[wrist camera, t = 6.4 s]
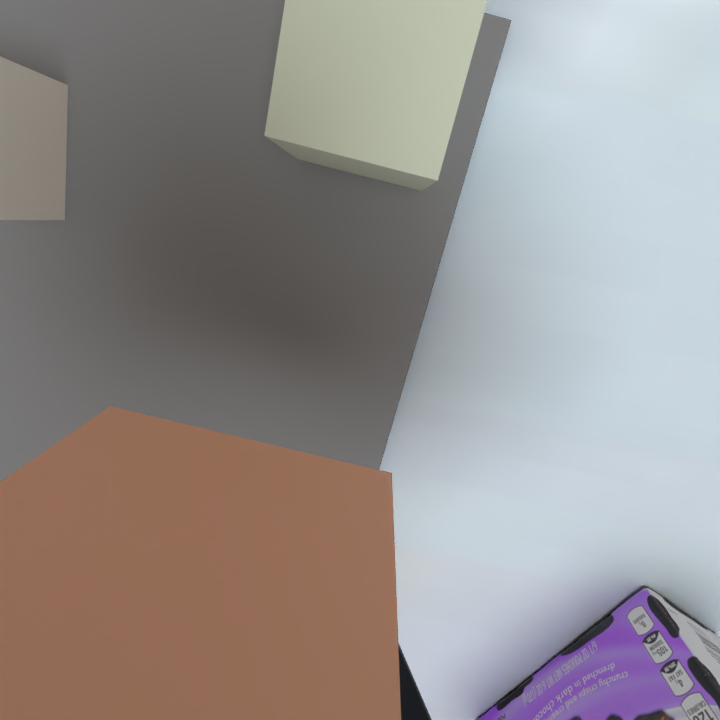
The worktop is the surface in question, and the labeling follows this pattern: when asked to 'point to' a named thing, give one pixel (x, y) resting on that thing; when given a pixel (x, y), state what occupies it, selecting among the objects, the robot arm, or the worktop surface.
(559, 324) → the worktop surface
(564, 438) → the worktop surface
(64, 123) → the taupe block
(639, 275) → the worktop surface
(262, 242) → the slate mat
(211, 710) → the terracotta block
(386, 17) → the sage block
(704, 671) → the candy box
